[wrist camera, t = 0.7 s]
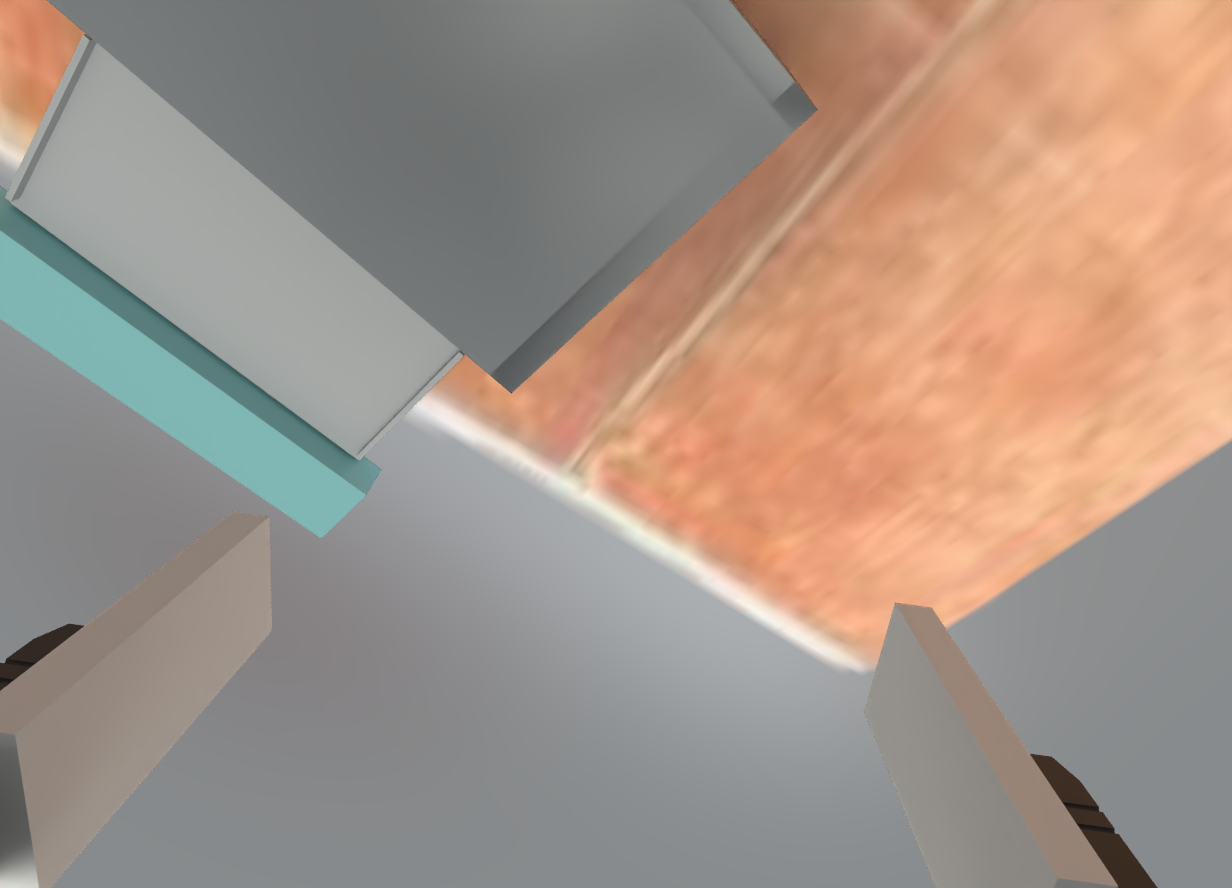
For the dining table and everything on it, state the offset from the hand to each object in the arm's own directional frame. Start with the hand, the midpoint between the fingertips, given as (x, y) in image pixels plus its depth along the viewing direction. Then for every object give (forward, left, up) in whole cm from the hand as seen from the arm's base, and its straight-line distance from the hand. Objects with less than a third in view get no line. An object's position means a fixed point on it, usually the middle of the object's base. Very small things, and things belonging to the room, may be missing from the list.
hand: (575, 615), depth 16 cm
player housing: (-1, -13, -26) cm, 29 cm away
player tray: (+18, -13, -25) cm, 34 cm away
